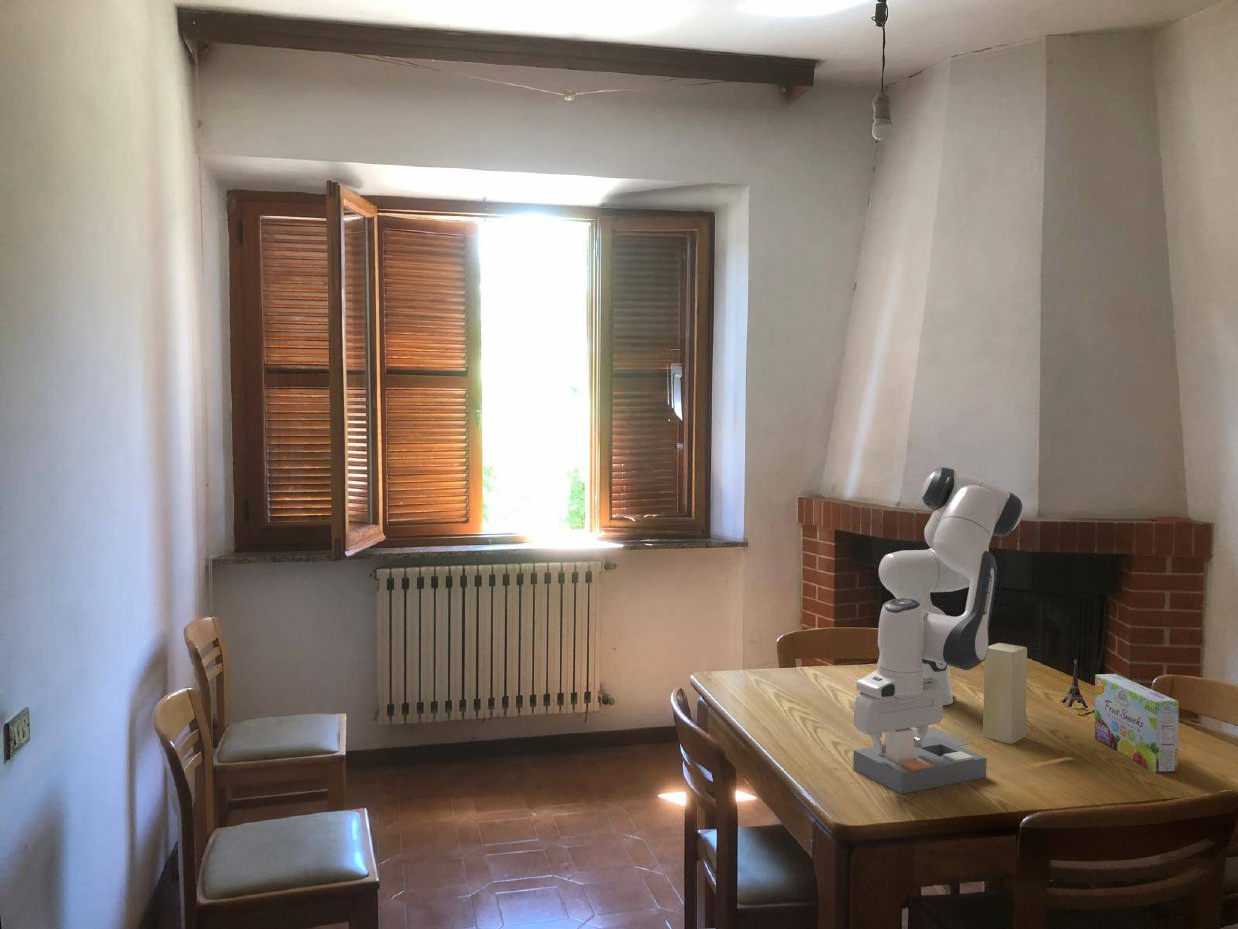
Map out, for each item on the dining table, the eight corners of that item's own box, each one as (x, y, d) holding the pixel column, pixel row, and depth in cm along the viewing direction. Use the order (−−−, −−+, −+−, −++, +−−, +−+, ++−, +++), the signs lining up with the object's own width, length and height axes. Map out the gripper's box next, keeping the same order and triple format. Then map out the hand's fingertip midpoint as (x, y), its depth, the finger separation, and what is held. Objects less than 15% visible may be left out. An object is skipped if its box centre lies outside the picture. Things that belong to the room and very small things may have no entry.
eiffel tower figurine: (1083, 719, 224) (1085, 665, 224) (1042, 709, 232) (1043, 657, 232) (1109, 707, 234) (1110, 656, 233) (1069, 698, 242) (1070, 648, 241)
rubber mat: (893, 736, 208) (893, 733, 208) (933, 729, 213) (933, 727, 213) (931, 753, 197) (931, 750, 197) (973, 746, 202) (973, 743, 202)
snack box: (1091, 739, 208) (1093, 673, 207) (1115, 738, 208) (1117, 673, 208) (1153, 773, 187) (1156, 700, 186) (1179, 773, 187) (1182, 700, 187)
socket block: (853, 769, 187) (853, 747, 187) (935, 754, 196) (935, 734, 196) (901, 794, 174) (901, 771, 174) (986, 777, 183) (986, 755, 183)
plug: (883, 775, 184) (884, 726, 183) (899, 772, 185) (900, 724, 185) (897, 782, 180) (898, 732, 180) (913, 779, 182) (914, 730, 181)
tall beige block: (993, 731, 213) (996, 641, 212) (1025, 738, 207) (1028, 647, 207) (978, 738, 207) (981, 647, 206) (1011, 747, 202) (1013, 652, 201)
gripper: (928, 672, 189) (926, 738, 190) (849, 682, 181) (848, 751, 181) (951, 680, 184) (949, 747, 184) (870, 691, 175) (869, 762, 176)
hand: (898, 749), depth 183 cm, fingers open, 8 cm apart
